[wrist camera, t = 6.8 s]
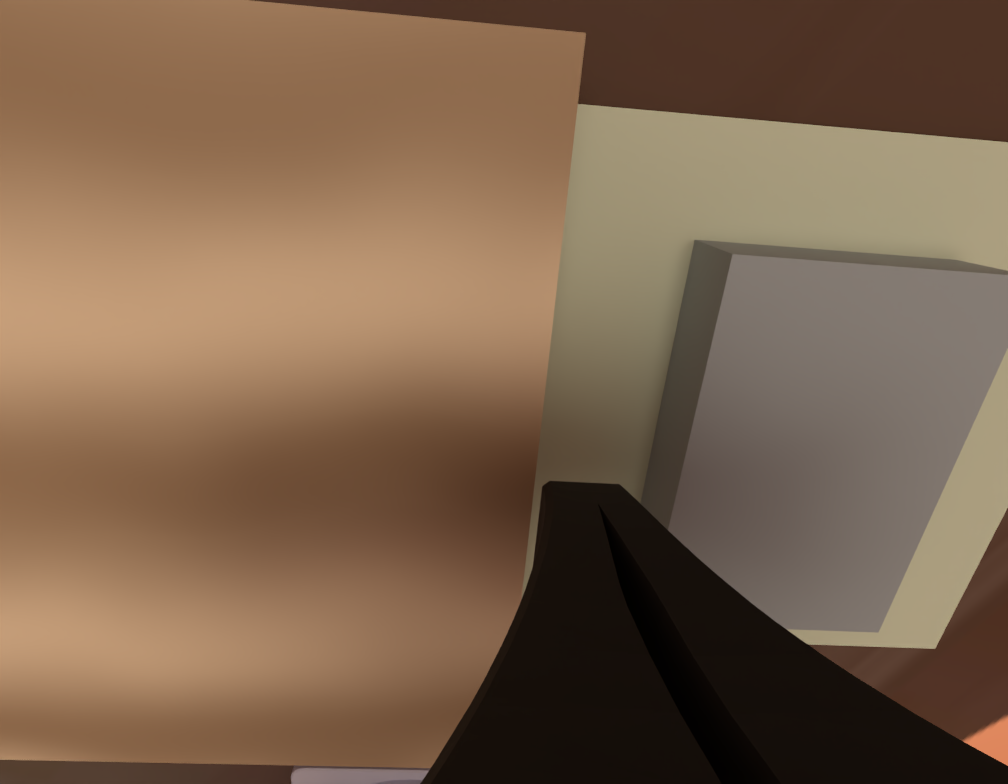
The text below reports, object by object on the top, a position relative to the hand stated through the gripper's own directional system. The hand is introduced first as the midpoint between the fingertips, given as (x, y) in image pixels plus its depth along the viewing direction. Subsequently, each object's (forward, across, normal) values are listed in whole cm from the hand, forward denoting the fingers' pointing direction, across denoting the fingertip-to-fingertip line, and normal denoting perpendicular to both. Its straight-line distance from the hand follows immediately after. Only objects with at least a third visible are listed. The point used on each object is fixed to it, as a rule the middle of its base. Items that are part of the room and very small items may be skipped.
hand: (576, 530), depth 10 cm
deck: (+5, +8, 0) cm, 9 cm away
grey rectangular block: (+2, -6, 0) cm, 6 cm away
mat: (+5, -6, 0) cm, 8 cm away
